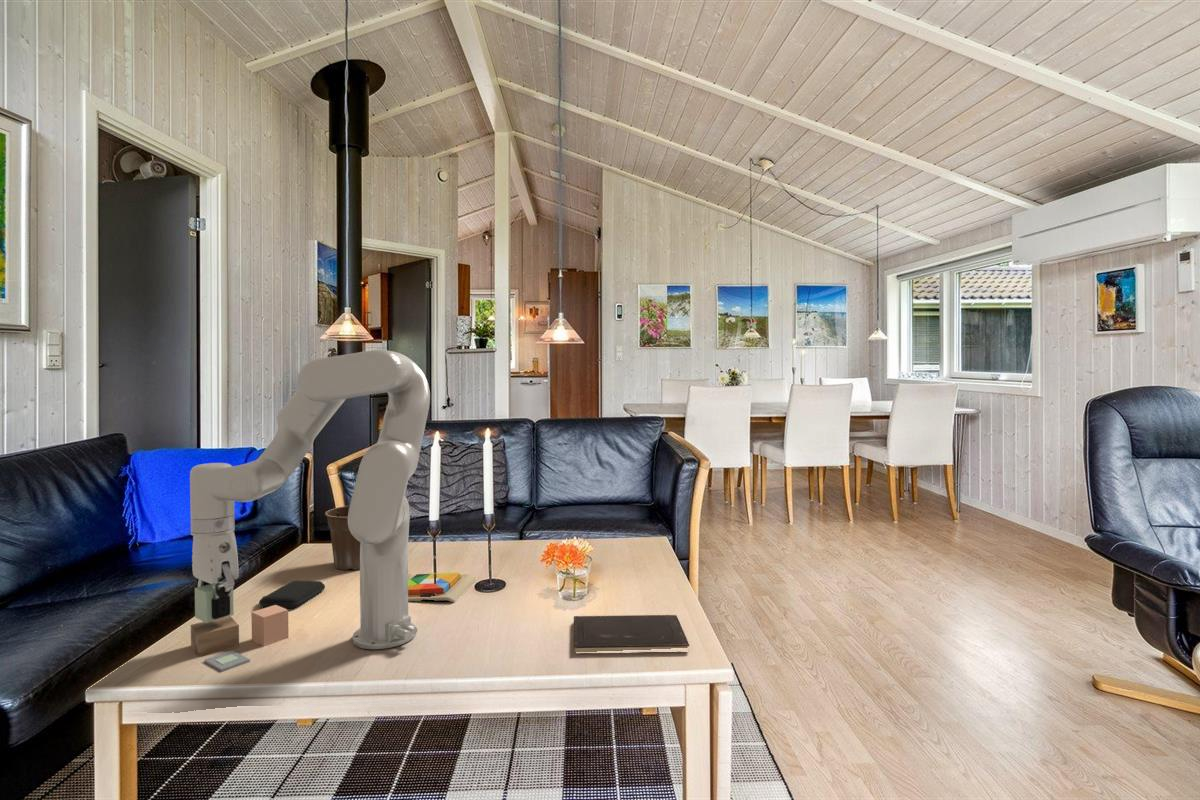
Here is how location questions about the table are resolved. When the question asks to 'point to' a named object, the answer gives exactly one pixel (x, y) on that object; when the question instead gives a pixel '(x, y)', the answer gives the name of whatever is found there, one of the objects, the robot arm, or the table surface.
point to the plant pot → (343, 540)
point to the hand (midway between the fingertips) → (214, 612)
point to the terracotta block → (269, 625)
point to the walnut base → (214, 636)
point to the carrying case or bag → (293, 594)
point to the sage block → (207, 603)
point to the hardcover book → (628, 633)
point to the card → (227, 660)
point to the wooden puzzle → (438, 586)
